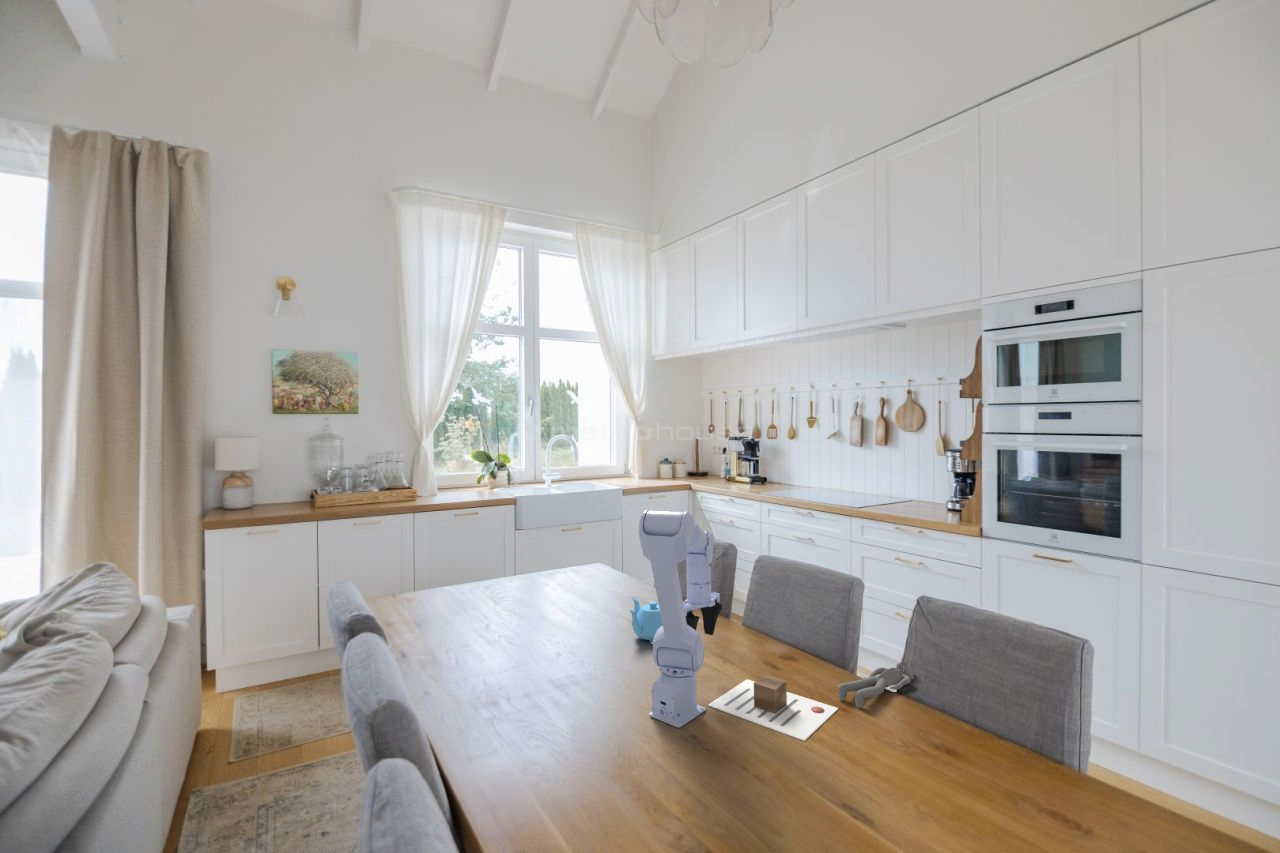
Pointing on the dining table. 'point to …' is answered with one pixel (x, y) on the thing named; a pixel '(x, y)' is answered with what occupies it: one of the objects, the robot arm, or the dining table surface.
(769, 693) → the walnut cube
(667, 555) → the robot arm
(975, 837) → the dining table surface
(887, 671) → the alien figure
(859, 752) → the dining table surface
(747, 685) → the white card
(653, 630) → the teapot
